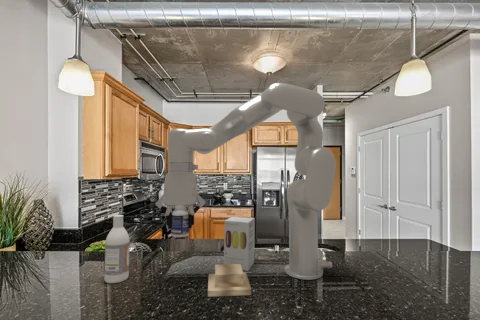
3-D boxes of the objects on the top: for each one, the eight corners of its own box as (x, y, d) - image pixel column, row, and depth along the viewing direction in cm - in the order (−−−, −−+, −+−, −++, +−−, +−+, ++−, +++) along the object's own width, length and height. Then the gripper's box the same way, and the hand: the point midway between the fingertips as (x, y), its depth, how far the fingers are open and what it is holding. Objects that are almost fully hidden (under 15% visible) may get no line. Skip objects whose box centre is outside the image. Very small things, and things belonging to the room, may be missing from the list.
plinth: (245, 277, 82) (246, 261, 83) (251, 294, 70) (251, 276, 71) (208, 278, 81) (208, 262, 81) (207, 296, 69) (207, 278, 69)
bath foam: (127, 282, 78) (129, 216, 79) (102, 285, 76) (104, 217, 77) (129, 273, 85) (130, 213, 86) (105, 276, 82) (108, 214, 83)
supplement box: (222, 268, 90) (223, 220, 91) (231, 259, 99) (231, 216, 100) (248, 271, 87) (249, 221, 88) (255, 262, 96) (255, 217, 97)
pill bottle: (184, 238, 75) (185, 204, 75) (168, 237, 76) (168, 204, 76) (192, 233, 80) (192, 202, 80) (176, 232, 81) (176, 202, 81)
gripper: (209, 168, 83) (208, 224, 82) (155, 169, 82) (154, 225, 81) (208, 168, 76) (208, 229, 75) (149, 168, 74) (148, 231, 73)
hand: (180, 227), depth 78 cm, fingers closed on pill bottle, 5 cm apart
